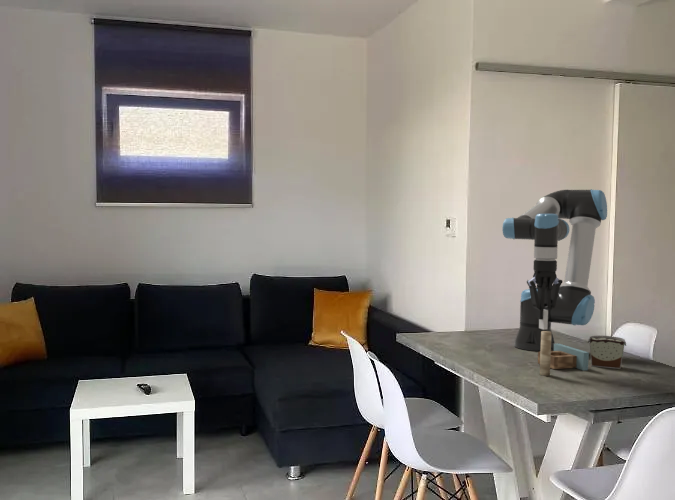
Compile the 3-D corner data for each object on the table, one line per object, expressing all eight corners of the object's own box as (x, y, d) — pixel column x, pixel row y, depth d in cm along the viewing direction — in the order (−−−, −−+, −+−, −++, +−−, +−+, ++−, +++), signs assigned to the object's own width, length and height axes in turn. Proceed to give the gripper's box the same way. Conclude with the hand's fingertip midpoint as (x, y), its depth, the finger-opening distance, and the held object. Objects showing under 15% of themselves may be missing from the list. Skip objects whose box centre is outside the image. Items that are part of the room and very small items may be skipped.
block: (559, 361, 240) (559, 350, 240) (576, 367, 232) (576, 355, 231) (537, 363, 237) (538, 351, 237) (553, 369, 229) (554, 357, 228)
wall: (558, 360, 244) (558, 343, 244) (588, 370, 229) (588, 352, 229) (553, 360, 243) (553, 343, 243) (583, 370, 228) (583, 352, 228)
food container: (624, 365, 238) (625, 336, 237) (625, 369, 232) (626, 339, 231) (586, 362, 242) (587, 334, 241) (586, 365, 236) (587, 337, 235)
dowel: (545, 373, 223) (547, 330, 222) (552, 375, 220) (553, 332, 219) (537, 373, 222) (539, 331, 221) (543, 376, 219) (545, 332, 218)
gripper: (554, 258, 236) (552, 325, 238) (522, 258, 232) (520, 327, 233) (568, 260, 229) (566, 329, 231) (535, 260, 225) (533, 331, 226)
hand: (543, 328), depth 232 cm, fingers closed
